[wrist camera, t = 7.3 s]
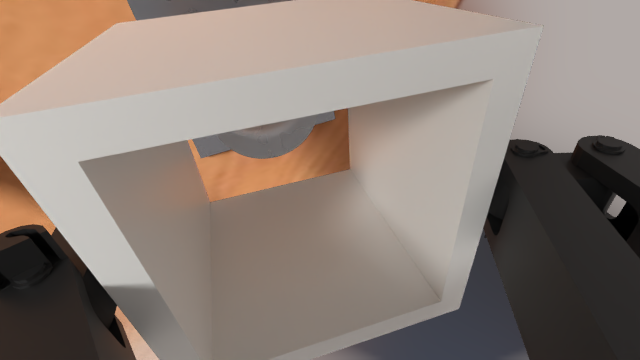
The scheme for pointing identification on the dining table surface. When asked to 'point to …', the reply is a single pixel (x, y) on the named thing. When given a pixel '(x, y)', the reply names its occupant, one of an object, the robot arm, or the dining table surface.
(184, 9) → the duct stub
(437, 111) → the white square planter
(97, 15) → the dining table surface
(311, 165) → the dining table surface
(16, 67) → the dining table surface
